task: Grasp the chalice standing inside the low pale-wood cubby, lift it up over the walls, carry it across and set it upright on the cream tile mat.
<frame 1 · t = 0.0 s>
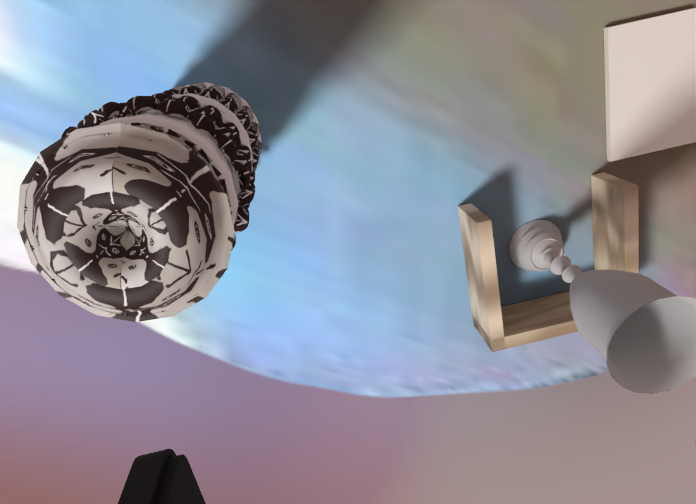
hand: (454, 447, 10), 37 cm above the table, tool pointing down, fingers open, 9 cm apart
mat: (667, 82, 45), on the table
cubby: (535, 245, 49), on the table
chalice: (534, 244, 50), on the table
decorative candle: (208, 136, 43), on the table
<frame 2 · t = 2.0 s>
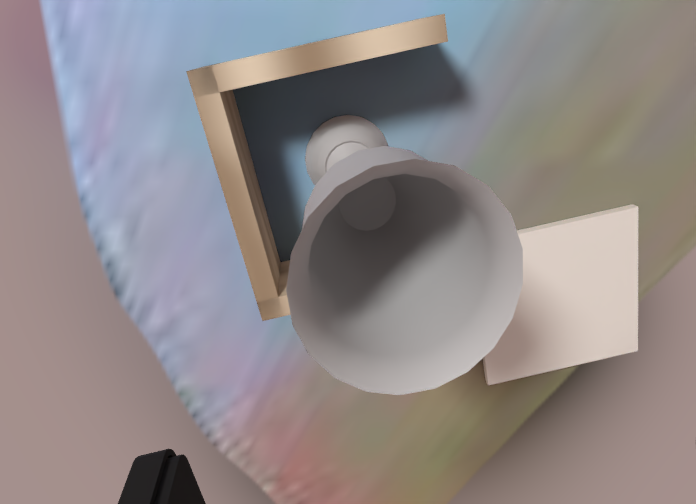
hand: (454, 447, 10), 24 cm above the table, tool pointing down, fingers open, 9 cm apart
mat: (555, 297, 37), on the table
cubby: (347, 158, 32), on the table
chalice: (347, 158, 32), on the table
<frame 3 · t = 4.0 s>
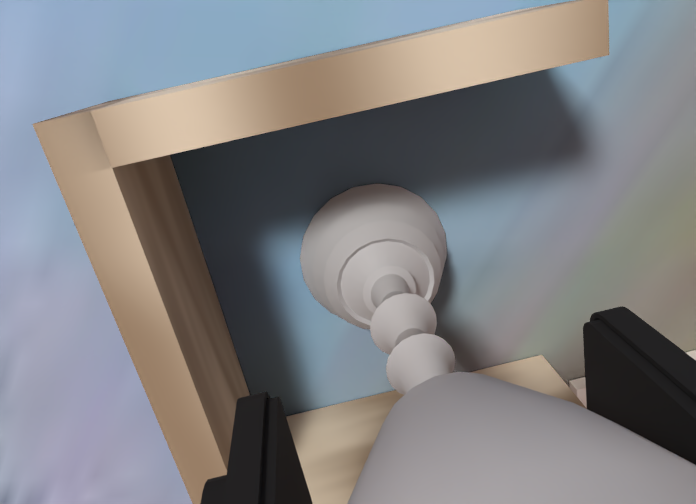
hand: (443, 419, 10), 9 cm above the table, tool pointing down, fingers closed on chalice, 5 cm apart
cubby: (374, 257, 18), on the table
chalice: (373, 254, 18), on the table, touching gripper
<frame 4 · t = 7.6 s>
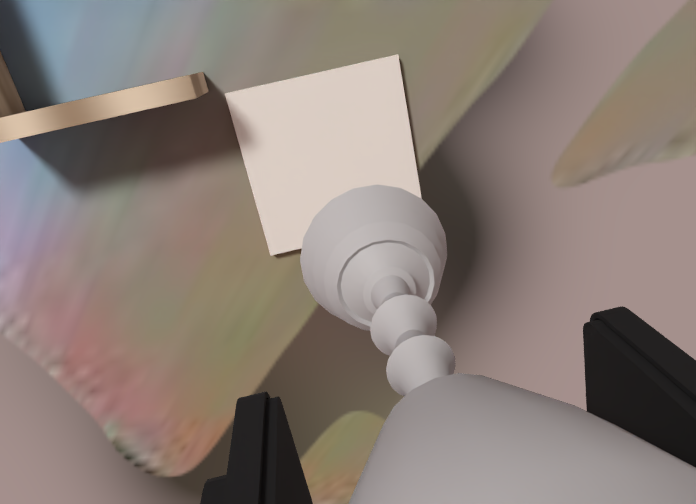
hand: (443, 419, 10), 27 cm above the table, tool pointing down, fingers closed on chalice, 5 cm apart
mat: (330, 158, 36), on the table
chalice: (373, 255, 18), point 18 cm above the table, touching gripper
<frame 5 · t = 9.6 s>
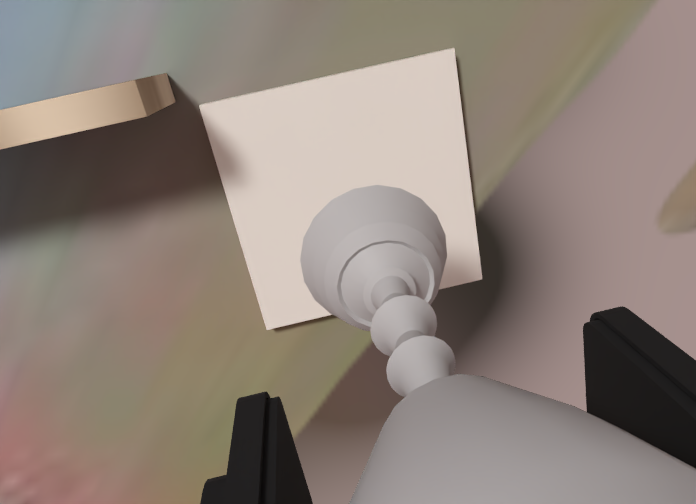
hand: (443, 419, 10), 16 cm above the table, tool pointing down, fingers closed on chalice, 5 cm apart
mat: (351, 196, 25), on the table
chalice: (373, 256, 18), point 7 cm above the table, touching gripper
when the fingers open (10 cm above the table, at t = 11.2 s): chalice drops 1 cm, resting on mat.
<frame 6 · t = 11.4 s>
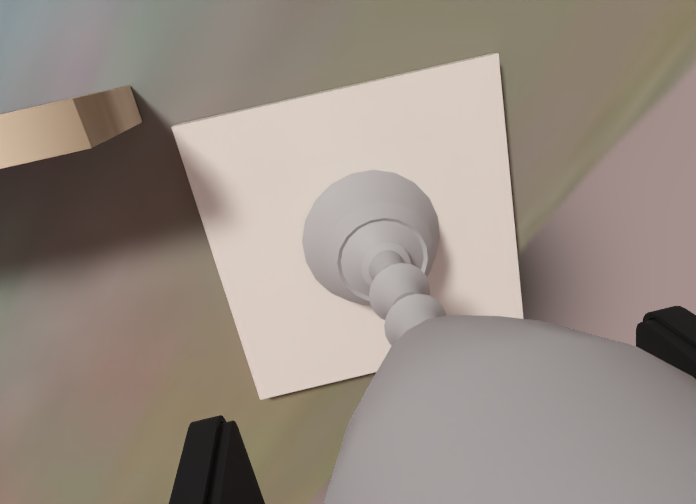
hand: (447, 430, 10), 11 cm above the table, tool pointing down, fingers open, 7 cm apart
mat: (365, 237, 20), on the table
chalice: (371, 237, 20), resting on mat
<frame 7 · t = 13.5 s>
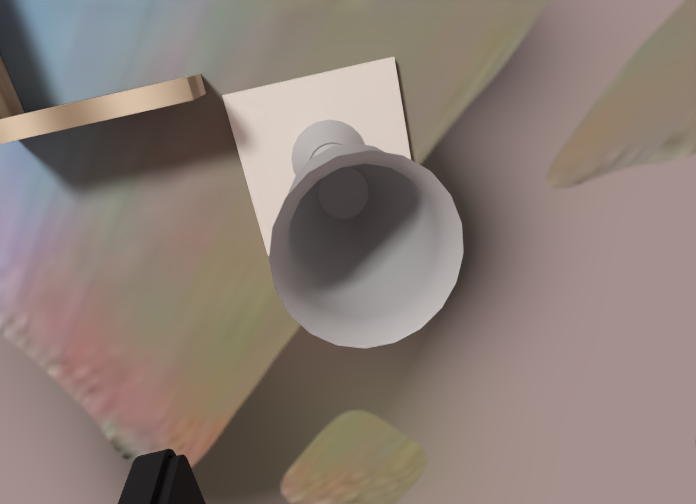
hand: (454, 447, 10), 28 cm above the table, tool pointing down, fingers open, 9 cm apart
mat: (327, 159, 36), on the table
chalice: (329, 158, 35), resting on mat
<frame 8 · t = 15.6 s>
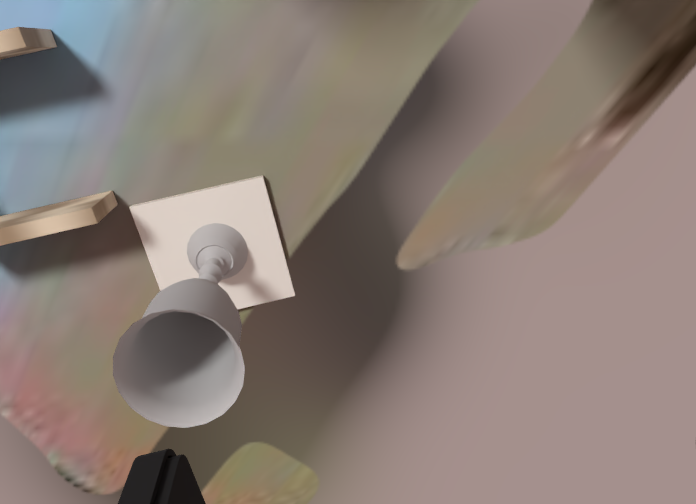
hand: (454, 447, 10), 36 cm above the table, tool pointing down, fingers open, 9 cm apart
mat: (217, 251, 46), on the table
cubby: (15, 138, 41), on the table
chalice: (217, 251, 45), resting on mat
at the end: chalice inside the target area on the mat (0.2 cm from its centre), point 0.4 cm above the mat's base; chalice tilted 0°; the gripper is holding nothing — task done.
